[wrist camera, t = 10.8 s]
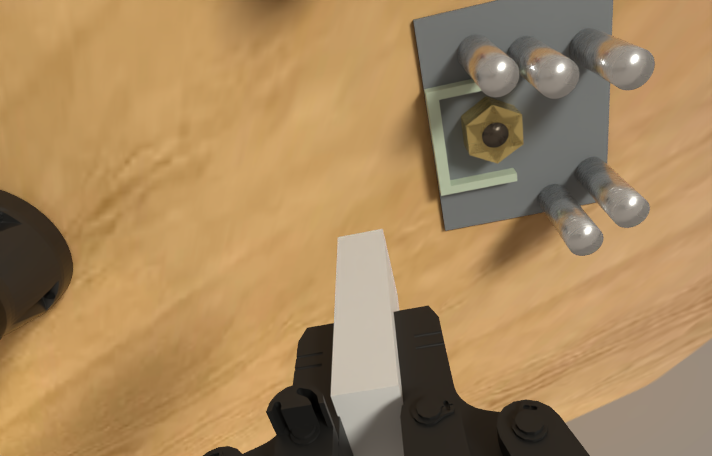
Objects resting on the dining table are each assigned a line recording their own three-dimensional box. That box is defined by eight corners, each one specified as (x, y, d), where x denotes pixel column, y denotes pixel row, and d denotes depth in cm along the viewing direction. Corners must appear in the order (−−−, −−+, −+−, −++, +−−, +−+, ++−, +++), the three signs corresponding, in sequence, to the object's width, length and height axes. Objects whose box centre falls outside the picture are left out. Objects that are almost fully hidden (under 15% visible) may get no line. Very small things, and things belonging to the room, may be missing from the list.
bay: (439, 190, 48) (441, 195, 47) (424, 89, 43) (425, 93, 42) (513, 175, 47) (517, 180, 46) (506, 71, 42) (510, 74, 41)
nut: (465, 157, 46) (471, 169, 44) (458, 101, 44) (464, 111, 41) (516, 147, 46) (524, 158, 44) (512, 90, 43) (521, 98, 41)
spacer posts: (476, 223, 50) (496, 271, 43) (455, 38, 41) (476, 61, 34) (604, 199, 49) (646, 244, 42) (611, 3, 40) (666, 18, 33)
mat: (444, 228, 51) (445, 230, 50) (413, 19, 41) (413, 20, 40) (603, 198, 49) (605, 200, 49) (611, -27, 39) (613, -27, 39)
